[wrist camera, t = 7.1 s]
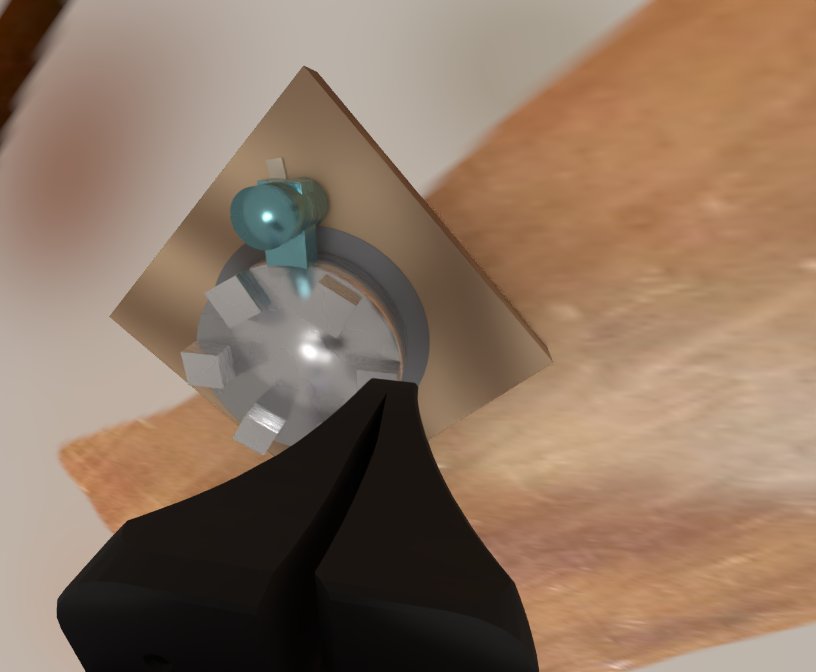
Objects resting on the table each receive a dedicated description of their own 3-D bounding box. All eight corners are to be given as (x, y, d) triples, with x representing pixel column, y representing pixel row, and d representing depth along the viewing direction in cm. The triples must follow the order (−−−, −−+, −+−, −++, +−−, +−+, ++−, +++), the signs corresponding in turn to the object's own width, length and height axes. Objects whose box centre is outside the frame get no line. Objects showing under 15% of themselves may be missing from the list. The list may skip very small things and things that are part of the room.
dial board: (335, 483, 26) (327, 504, 25) (130, 306, 22) (106, 318, 21) (547, 347, 20) (554, 364, 19) (317, 71, 16) (301, 64, 15)
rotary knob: (404, 427, 21) (391, 487, 17) (240, 408, 22) (195, 462, 18) (414, 182, 16) (398, 194, 12) (198, 171, 17) (122, 178, 13)
